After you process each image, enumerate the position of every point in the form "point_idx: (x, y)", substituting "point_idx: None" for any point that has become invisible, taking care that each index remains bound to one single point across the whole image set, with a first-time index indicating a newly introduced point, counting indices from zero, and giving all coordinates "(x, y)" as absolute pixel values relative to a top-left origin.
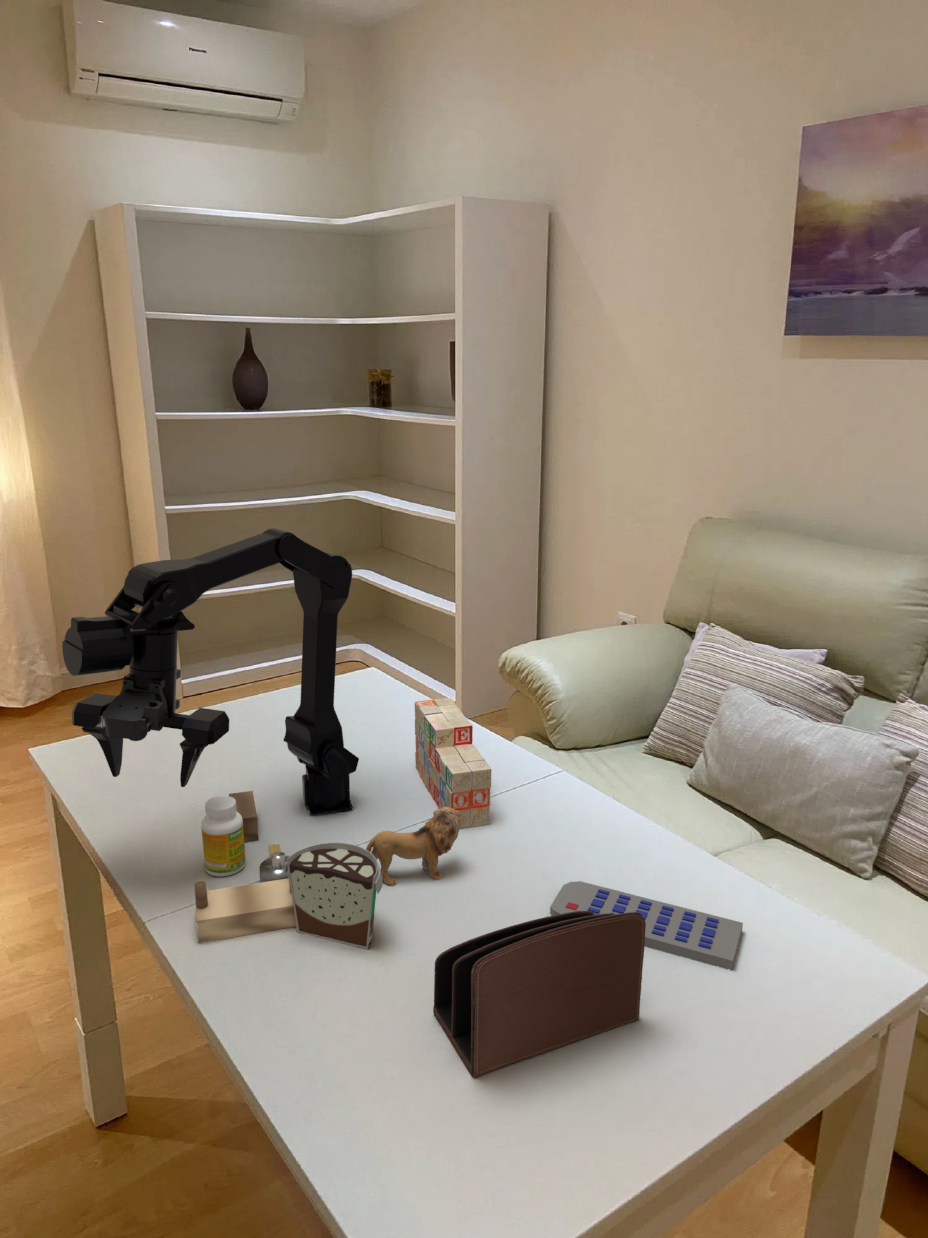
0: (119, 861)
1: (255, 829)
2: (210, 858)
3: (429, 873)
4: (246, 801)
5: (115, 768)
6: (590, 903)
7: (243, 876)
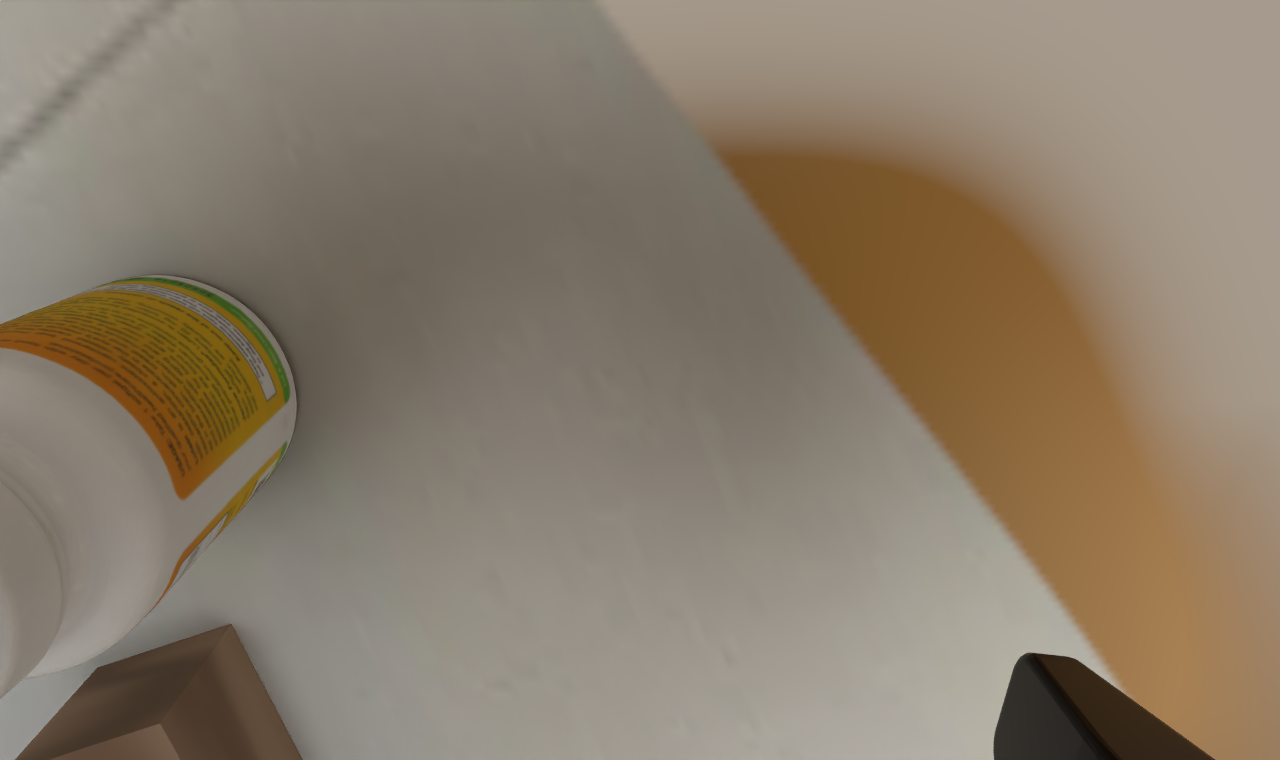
0: (841, 407)
1: (70, 711)
2: (159, 310)
3: None
4: None
5: (1082, 751)
6: None
7: (21, 296)
